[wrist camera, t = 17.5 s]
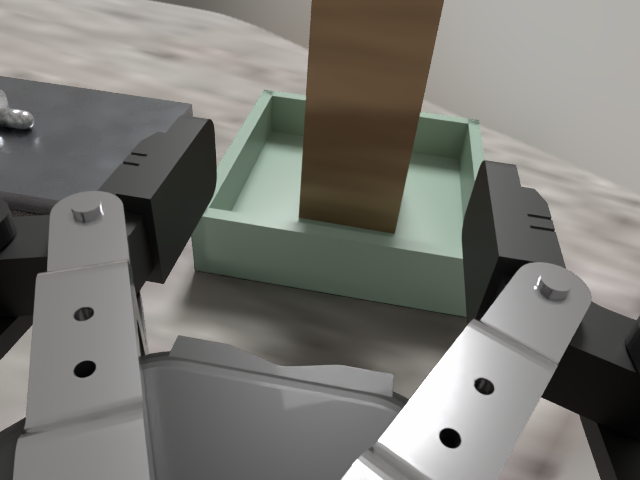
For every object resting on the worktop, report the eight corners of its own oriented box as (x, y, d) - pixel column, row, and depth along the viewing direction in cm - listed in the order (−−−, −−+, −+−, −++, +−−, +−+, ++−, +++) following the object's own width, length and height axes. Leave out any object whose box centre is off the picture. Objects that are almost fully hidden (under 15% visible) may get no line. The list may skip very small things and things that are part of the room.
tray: (478, 318, 22) (499, 264, 20) (194, 270, 23) (188, 214, 21) (465, 167, 31) (479, 120, 29) (263, 137, 32) (264, 89, 30)
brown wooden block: (394, 234, 24) (456, -62, 17) (298, 217, 25) (316, -79, 17) (401, 181, 28) (454, -84, 20) (316, 167, 28) (337, -98, 21)
